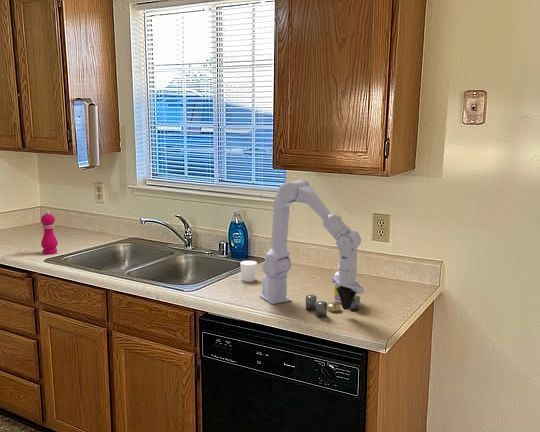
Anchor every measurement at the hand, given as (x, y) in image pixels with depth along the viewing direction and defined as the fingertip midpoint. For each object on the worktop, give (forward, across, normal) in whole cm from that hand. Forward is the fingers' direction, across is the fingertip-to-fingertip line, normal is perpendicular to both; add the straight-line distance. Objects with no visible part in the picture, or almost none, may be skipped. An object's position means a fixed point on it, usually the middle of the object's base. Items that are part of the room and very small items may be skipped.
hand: (346, 308), depth 180 cm
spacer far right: (+3, +4, +7) cm, 9 cm away
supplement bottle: (+3, +13, -8) cm, 16 cm away
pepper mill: (+2, +130, +74) cm, 150 cm away
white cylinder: (+3, +51, +10) cm, 52 cm away
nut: (+3, +7, 0) cm, 8 cm away
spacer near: (+3, +11, +6) cm, 13 cm away
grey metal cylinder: (+3, +4, -6) cm, 8 cm away
